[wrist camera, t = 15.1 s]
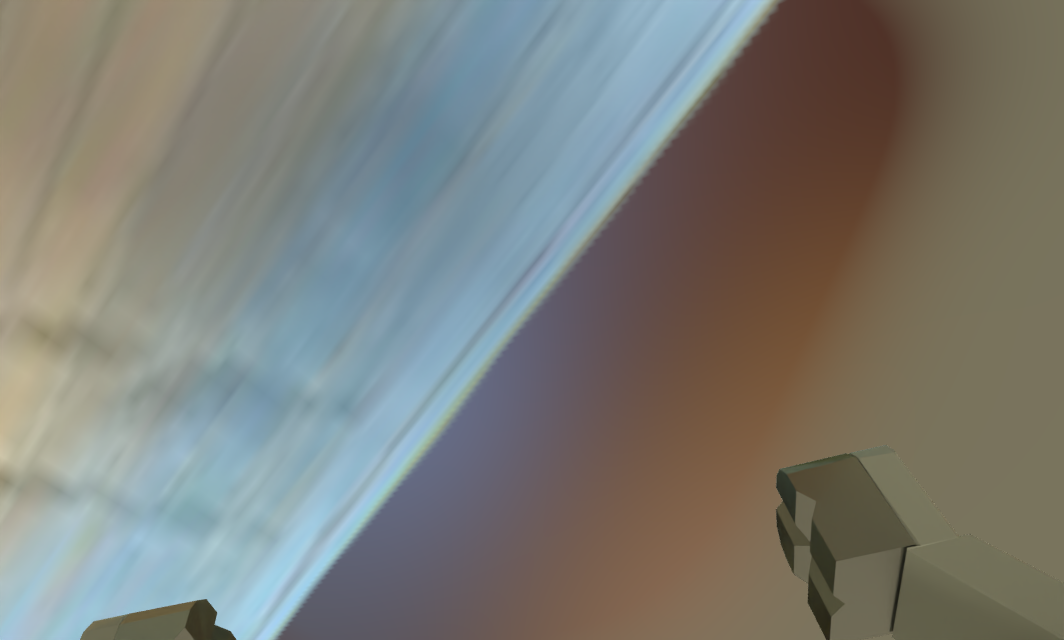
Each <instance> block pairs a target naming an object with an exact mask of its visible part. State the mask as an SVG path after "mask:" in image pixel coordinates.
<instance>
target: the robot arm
mask: <svg viewBox="0 0 1064 640" xmlns="http://www.w3.org/2000/svg"><path fill="white" fill-rule="evenodd" d="M776 488H777V490H778V492H779V494H780V496H781V498H782V500H783V502H782V503H781V504H780V505H779V506H778V508H777V509H776V520H777V529H778V534H779V538H780V543H781V546H782V548H783V551H784V554H785V557H786V559H787V561H788V563H789V566H790V568H791V570H792V572H793V574H794V575H795V576H797V577H798V578H800V579H802V580H803V581H805V582H806V583H808V604H809V606H810V608H811V610H812V612H813V614H814V616H815V618H816V620H817V622H818V624H819V626H820V628H821V630H822V632H823V634H824V636H825V638H826V640H862V639H868V638H873V637H878V636H883V635H888V634H893V635H892V637H893V638H894V639H895V640H1064V582H1062V581H1060V580H1058V579H1056V578H1054V577H1052V576H1050V575H1048V574H1046V573H1045V572H1043V571H1041V570H1039V569H1037V568H1035V567H1033V566H1031V565H1029V564H1027V563H1025V562H1023V561H1021V560H1019V559H1017V558H1015V557H1014V556H1012V555H1010V554H1008V553H1006V552H1004V551H1002V550H1000V549H998V548H996V547H994V546H992V545H990V544H988V543H986V542H984V541H983V540H981V539H978V538H977V537H975V536H973V535H971V534H969V535H963V536H959V535H958V534H957V533H956V532H955V530H954V529H953V528H952V526H951V525H950V524H949V522H948V521H947V520H946V518H945V517H944V516H943V514H942V513H941V512H940V510H939V509H938V508H937V507H936V505H935V504H934V502H933V501H932V500H931V499H930V497H929V496H928V495H927V493H926V492H925V491H924V489H923V488H922V487H921V485H920V484H919V483H918V481H917V480H916V479H915V477H914V476H913V475H912V473H911V472H910V471H909V470H908V468H907V467H906V465H905V464H904V463H903V462H902V460H901V459H900V458H899V456H898V455H897V454H896V452H895V451H894V450H893V449H891V448H890V447H888V446H887V445H884V446H880V447H875V448H871V449H866V450H862V451H857V452H853V453H850V454H846V453H845V454H841V455H837V456H833V457H828V458H824V459H820V460H816V461H812V462H807V463H804V464H799V465H795V466H791V467H786V468H782V469H779V471H778V473H777V483H776ZM216 616H217V612H216V611H215V609H214V608H213V607H212V606H211V604H210V603H209V602H208V601H207V599H204V600H197V601H192V602H187V603H182V604H177V605H172V606H166V607H161V608H156V609H151V610H146V611H141V612H136V613H131V614H127V615H122V616H117V617H112V618H108V619H103V620H98V621H93V623H92V624H91V625H90V626H89V627H88V628H87V629H86V630H85V631H84V632H83V634H82V636H81V639H80V640H236V638H235V637H234V636H233V634H232V633H231V631H229V630H226V629H224V628H221V627H219V626H216V625H214V624H215V620H216Z"/></svg>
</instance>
